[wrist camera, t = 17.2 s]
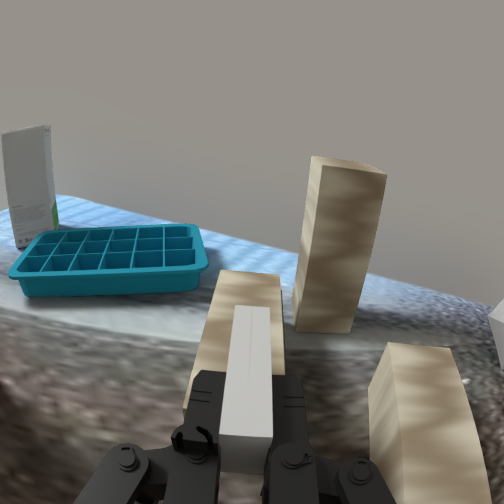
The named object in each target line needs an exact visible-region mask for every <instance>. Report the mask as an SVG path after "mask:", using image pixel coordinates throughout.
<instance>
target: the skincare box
mask: <svg viewBox="0 0 504 504" xmlns="http://www.w3.org/2000/svg"><path fill="white" fill-rule="evenodd" d="M50 128H51V126H50V125H39V126H32V127H27V128H21V129H16V130H11V131H7V132H3V133H2V152H3V164H4V175H5V183H6V191H7V199H8V205H9V211H10V217H11V223H12V228H13V233H14V238H15V243H16V248H22V247H28V246H29V244H30V243H31V242H32V241H33V240H34V239H35V237H36V236H37V235H38V234H40V233H42V232H45V231H50V230H58V227H59V219H58V212H57V205H56V197H55V188H54V178H53V167H52V152H51V129H50Z"/></svg>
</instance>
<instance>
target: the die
mask: <svg viewBox="0 0 504 504" xmlns="http://www.w3.org/2000/svg"><path fill="white" fill-rule="evenodd" d="M488 319H489V322H490V326H491V329H492V333H493V336H494V340H495V344H496V348H497V352H498V356H499V361H500V365H501V370H504V299H503V300H502V301H501V302H500V303H499V304H498V306H497V307H496V308H495V309H494V310H493V311H492V312H491V313H490V314H489V315H488Z"/></svg>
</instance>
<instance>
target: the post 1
mask: <svg viewBox="0 0 504 504" xmlns="http://www.w3.org/2000/svg"><path fill="white" fill-rule="evenodd" d="M235 305H244V306H257V307H270V333H271V369H272V374H273V375H286V359H285V339H284V321H283V303H282V290H281V287H280V275H276V274H264V273H253V272H241V271H230V270H220V274H219V277H218V281H217V284H216V288H215V291H214V295H213V298H212V302H211V305H210V309H209V312H208V316H207V319H206V323H205V326H204V330H203V334H202V337H201V341H200V345H199V348H198V352H197V356H196V359H195V363H194V367H193V370H192V374H191V378H190V382H189V385H188V389H187V393H186V397H185V400H184V404H183V415H184V419H185V414H186V410H187V405H188V401H189V396H190V392H191V388H192V383H193V379H194V378H195V376H196V375H197V374H198V373H199V372H200V370H211V371H221V372H227V365H228V357H229V349H230V341H231V333H232V326H233V318H234V310H235Z"/></svg>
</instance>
